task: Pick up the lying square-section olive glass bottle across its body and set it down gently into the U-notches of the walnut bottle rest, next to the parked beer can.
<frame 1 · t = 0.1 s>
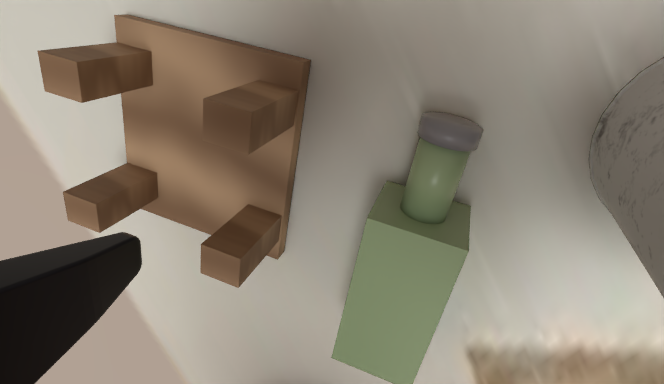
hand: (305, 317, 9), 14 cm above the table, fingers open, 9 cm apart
bottle: (405, 260, 25), on the table
cradle: (211, 141, 26), on the table
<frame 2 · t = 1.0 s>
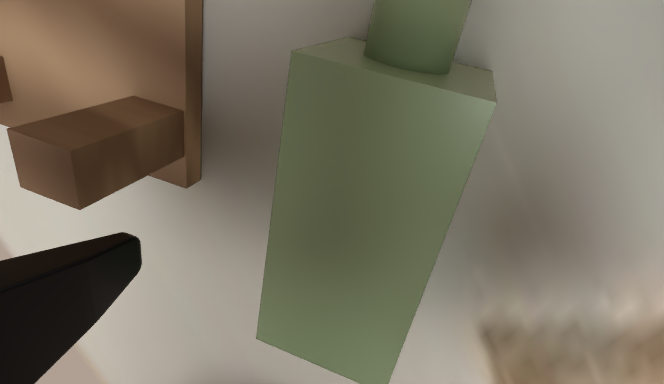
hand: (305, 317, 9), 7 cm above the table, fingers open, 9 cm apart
bottle: (382, 185, 15), on the table
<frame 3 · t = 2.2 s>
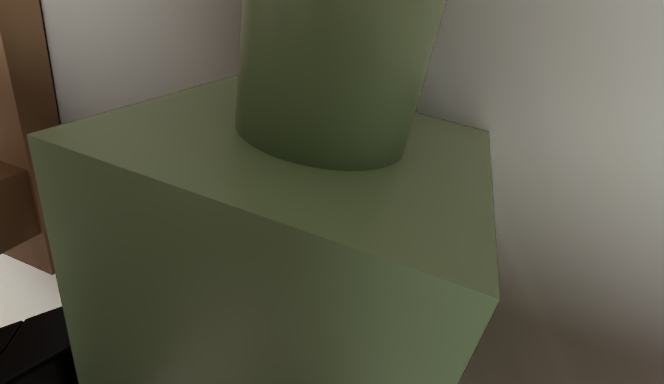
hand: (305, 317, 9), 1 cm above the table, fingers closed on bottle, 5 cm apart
bottle: (323, 290, 10), on the table, touching gripper
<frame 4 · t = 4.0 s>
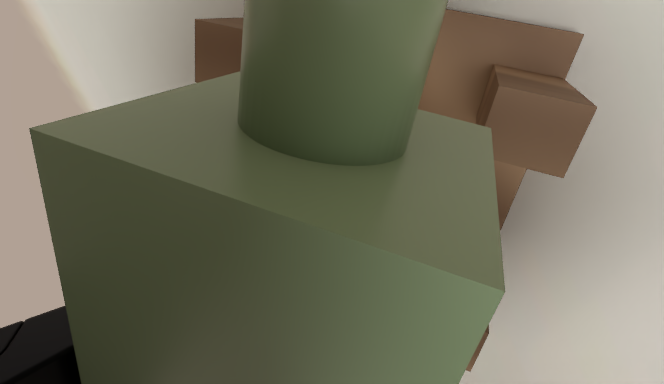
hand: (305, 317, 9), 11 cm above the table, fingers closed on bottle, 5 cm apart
bottle: (324, 288, 10), point 10 cm above the table, touching gripper
cradle: (381, 153, 19), on the table
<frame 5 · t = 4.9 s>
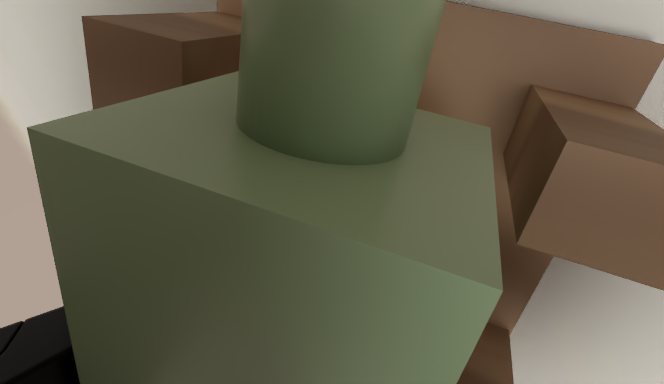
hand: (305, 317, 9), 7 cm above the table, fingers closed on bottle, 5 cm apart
bottle: (323, 288, 10), point 5 cm above the table, touching gripper
cradle: (372, 192, 14), on the table
when the fingers open (4 cm above the table, at t = 5.8 s): bottle drops 1 cm, resting on cradle.
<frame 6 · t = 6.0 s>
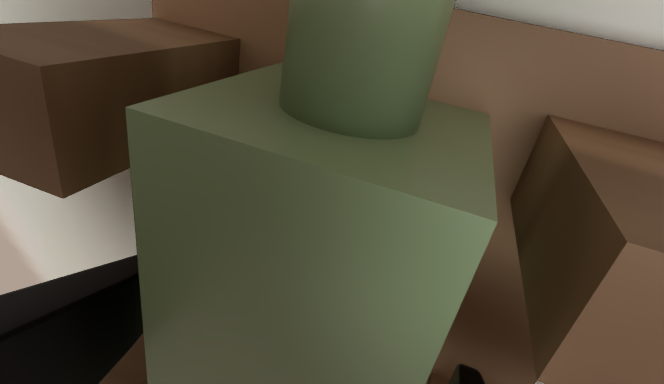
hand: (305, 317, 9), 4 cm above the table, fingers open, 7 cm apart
bottle: (339, 261, 11), point 1 cm above the table, touching cradle
cradle: (350, 235, 12), on the table
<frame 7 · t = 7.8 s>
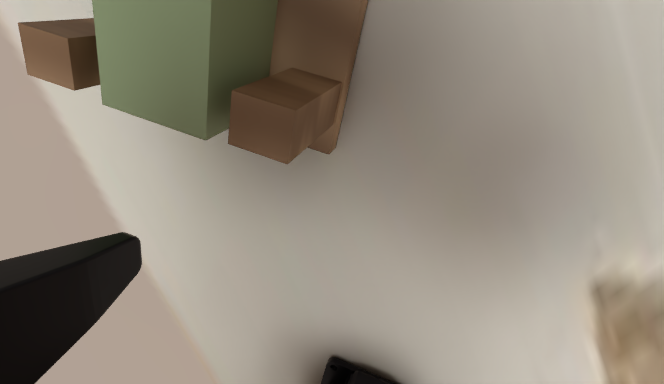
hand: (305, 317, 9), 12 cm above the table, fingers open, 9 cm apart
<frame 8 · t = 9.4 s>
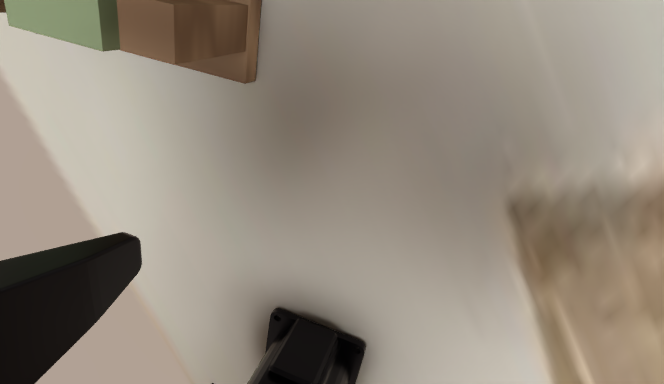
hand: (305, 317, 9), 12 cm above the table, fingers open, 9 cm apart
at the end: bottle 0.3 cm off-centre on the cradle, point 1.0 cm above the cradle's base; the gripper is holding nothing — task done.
